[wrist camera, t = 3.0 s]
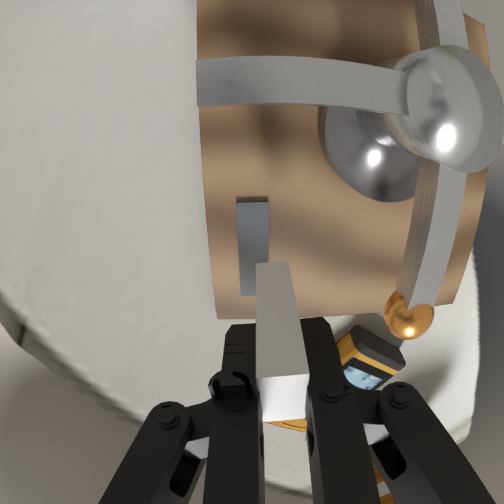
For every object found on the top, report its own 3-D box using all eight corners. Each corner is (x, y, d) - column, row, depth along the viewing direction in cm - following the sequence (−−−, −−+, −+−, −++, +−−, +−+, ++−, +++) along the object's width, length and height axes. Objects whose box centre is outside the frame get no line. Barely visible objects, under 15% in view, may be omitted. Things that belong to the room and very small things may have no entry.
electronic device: (255, 400, 30) (254, 423, 27) (352, 319, 24) (361, 344, 21) (307, 416, 32) (309, 437, 29) (400, 347, 26) (411, 370, 23)
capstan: (221, -31, 10) (199, -107, 3) (475, 22, 10) (548, 11, 2) (232, 271, 20) (220, 365, 12) (458, 263, 19) (514, 324, 12)
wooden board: (201, -24, 11) (197, -33, 10) (475, 26, 11) (486, 24, 10) (218, 309, 23) (216, 321, 22) (447, 296, 23) (454, 305, 21)
